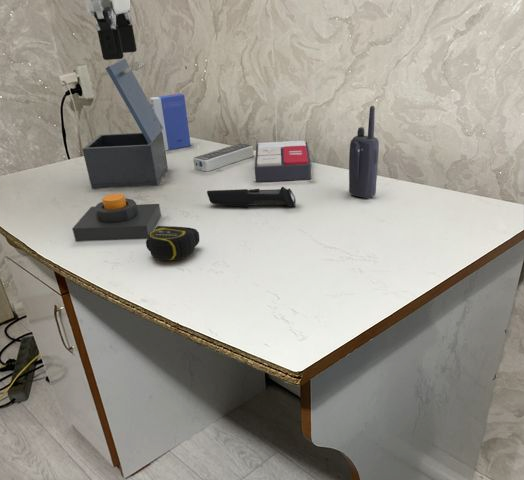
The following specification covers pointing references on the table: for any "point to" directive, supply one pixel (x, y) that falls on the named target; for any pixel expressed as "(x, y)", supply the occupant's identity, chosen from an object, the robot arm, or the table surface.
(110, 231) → the control block
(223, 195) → the electric trimmer
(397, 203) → the table surface
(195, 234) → the tape measure
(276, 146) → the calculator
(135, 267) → the table surface
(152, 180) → the compartment
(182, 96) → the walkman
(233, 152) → the multiport hub
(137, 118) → the compartment lid
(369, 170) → the two-way radio
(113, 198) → the button
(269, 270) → the table surface
